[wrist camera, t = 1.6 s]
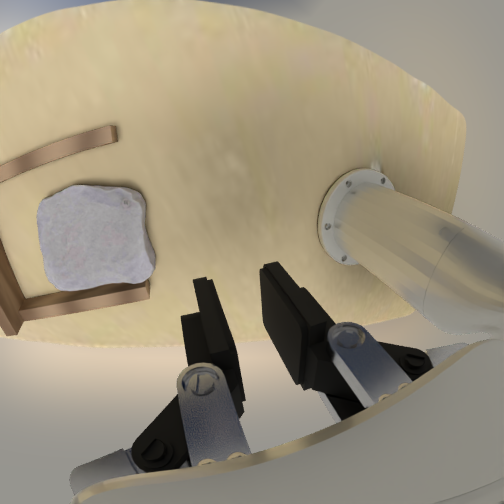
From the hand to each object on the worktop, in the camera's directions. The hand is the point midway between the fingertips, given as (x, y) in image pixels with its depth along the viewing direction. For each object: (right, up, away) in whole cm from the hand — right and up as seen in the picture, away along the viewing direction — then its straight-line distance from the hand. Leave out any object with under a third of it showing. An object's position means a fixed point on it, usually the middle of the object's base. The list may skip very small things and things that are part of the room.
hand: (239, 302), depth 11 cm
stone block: (-15, +5, +13) cm, 21 cm away
